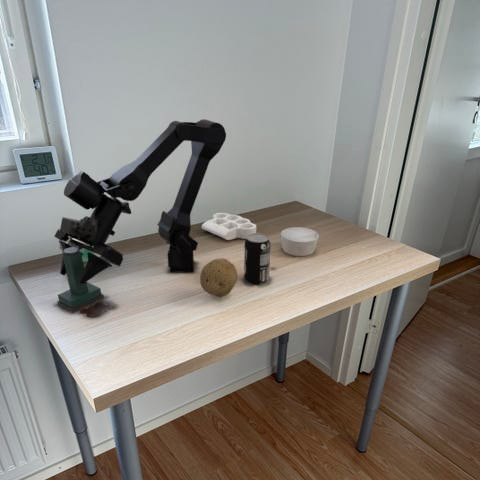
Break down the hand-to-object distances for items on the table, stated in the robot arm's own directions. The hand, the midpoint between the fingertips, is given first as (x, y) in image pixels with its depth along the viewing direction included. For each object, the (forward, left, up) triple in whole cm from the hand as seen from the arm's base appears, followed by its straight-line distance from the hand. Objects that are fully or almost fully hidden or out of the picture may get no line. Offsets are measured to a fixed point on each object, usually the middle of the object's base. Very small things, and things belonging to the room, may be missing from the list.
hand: (71, 278), depth 108 cm
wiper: (-1, -1, -7) cm, 7 cm away
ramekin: (-58, -30, -7) cm, 66 cm away
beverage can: (-44, -11, -7) cm, 46 cm away
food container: (+2, -19, -7) cm, 21 cm away
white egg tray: (-32, -38, -3) cm, 50 cm away
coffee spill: (-6, +3, -7) cm, 9 cm away
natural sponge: (-34, -2, -7) cm, 35 cm away
